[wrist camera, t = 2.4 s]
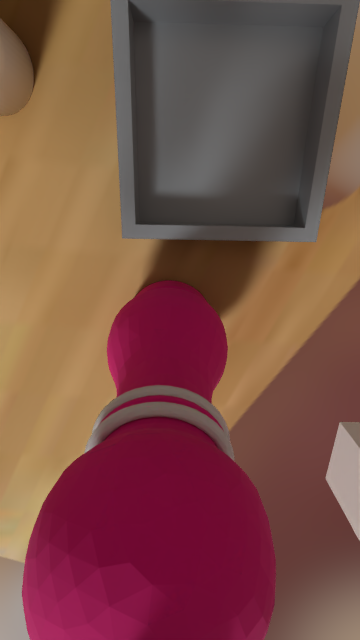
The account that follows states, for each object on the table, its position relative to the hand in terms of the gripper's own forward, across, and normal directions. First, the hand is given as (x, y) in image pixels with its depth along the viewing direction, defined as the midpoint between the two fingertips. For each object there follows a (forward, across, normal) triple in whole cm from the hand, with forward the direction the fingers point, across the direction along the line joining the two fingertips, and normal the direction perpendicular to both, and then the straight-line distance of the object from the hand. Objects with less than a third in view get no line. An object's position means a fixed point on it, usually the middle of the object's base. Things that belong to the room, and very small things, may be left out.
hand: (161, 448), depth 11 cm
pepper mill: (+12, 0, 0) cm, 12 cm away
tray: (+12, +3, +12) cm, 18 cm away
